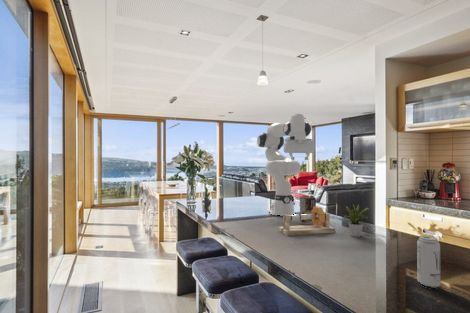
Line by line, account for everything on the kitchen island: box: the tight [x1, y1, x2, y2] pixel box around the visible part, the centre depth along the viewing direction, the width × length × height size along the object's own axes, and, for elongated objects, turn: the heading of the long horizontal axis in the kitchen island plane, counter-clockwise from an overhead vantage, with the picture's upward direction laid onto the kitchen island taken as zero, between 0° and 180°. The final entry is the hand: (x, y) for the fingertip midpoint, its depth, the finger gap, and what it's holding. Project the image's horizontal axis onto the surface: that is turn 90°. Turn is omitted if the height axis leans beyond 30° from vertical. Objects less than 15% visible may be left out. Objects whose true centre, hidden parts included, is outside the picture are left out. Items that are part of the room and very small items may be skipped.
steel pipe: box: [284, 213, 326, 222], centre depth 156 cm, size 3×26×3 cm, turn 104°
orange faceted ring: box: [311, 206, 325, 226], centre depth 158 cm, size 10×2×10 cm, turn 14°
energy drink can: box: [416, 235, 441, 288], centre depth 90 cm, size 6×6×15 cm
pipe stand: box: [278, 212, 336, 237], centre depth 156 cm, size 12×28×10 cm, turn 104°
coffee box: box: [299, 196, 317, 225], centre depth 175 cm, size 9×6×16 cm
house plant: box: [345, 203, 369, 238], centre depth 147 cm, size 14×14×16 cm
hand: (299, 159), depth 180 cm, fingers open, 8 cm apart
